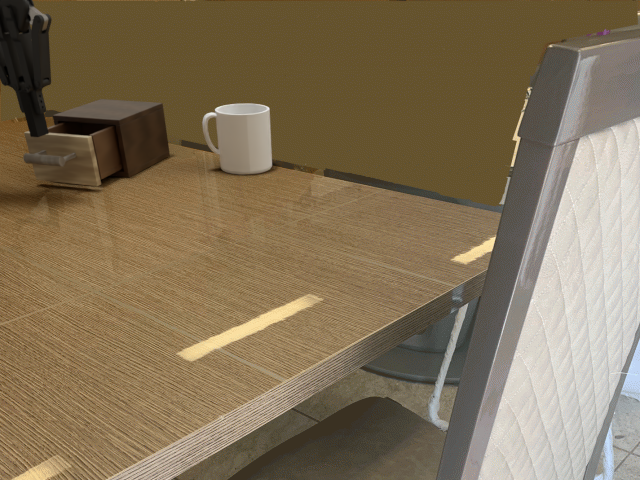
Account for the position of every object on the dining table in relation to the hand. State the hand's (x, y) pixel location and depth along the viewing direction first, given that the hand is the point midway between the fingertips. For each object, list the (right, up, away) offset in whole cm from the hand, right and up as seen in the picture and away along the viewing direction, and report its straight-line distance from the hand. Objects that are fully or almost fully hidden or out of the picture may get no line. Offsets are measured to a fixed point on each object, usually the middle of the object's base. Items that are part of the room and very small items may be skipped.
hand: (39, 134), depth 104 cm
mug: (+30, +2, +19) cm, 36 cm away
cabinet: (+6, +4, +22) cm, 23 cm away
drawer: (+2, -2, +12) cm, 12 cm away
